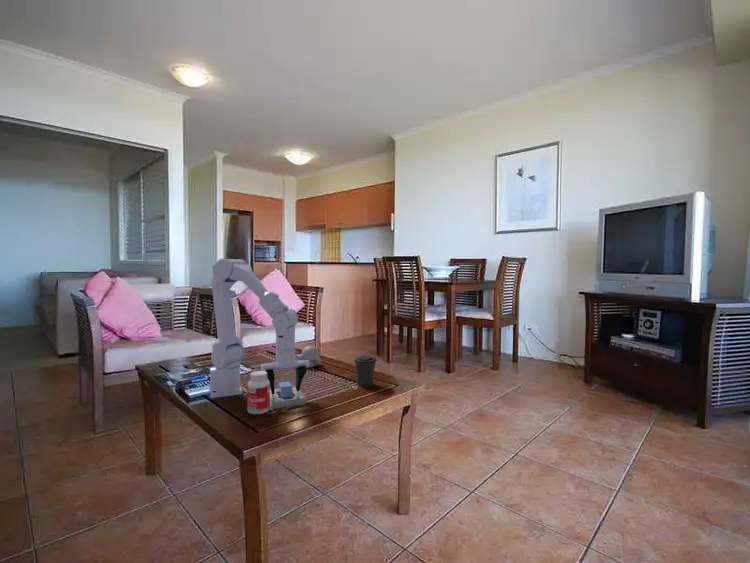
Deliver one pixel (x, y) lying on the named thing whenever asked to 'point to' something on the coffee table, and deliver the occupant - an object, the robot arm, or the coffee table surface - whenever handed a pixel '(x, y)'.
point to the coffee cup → (365, 370)
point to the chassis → (280, 402)
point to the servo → (285, 390)
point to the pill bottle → (258, 393)
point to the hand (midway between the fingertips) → (285, 391)
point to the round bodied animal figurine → (309, 356)
